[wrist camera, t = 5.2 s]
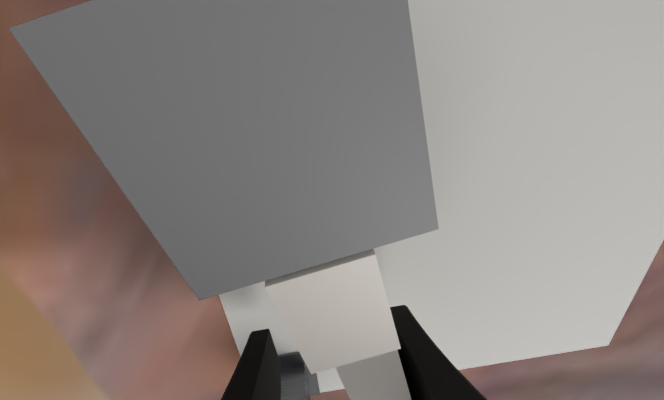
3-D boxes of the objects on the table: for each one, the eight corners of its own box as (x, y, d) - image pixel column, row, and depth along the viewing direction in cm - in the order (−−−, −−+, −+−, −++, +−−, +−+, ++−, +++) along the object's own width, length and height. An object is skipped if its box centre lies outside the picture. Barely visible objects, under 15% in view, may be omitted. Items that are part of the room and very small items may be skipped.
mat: (797, -50, 9) (816, -53, 9) (602, 339, 18) (608, 345, 18) (125, 9, 8) (117, 8, 8) (257, 395, 17) (256, 402, 17)
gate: (205, 32, 8) (9, 28, 2) (322, -6, 8) (394, -101, 2) (355, 383, 16) (389, 571, 10) (415, 366, 16) (481, 546, 10)
